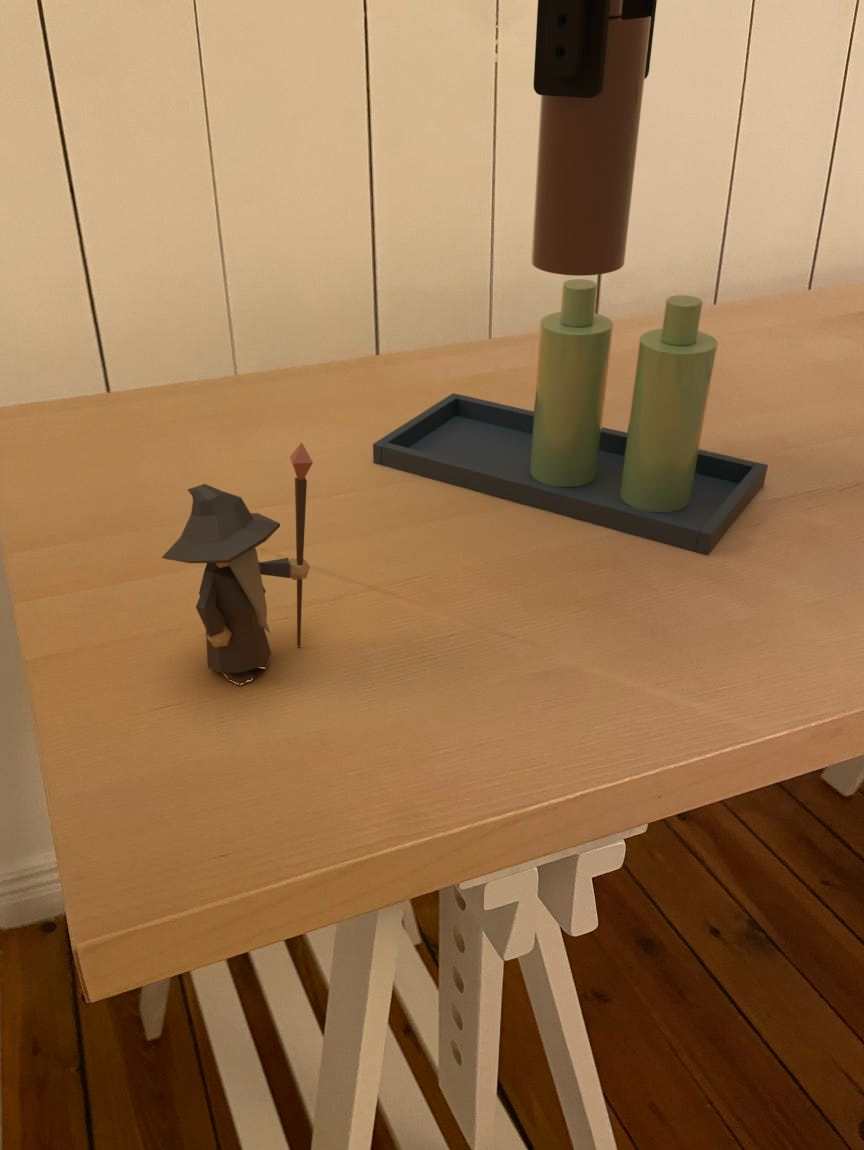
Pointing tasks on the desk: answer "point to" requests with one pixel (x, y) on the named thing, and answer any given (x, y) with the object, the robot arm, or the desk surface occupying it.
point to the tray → (502, 469)
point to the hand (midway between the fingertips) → (592, 82)
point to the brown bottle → (591, 160)
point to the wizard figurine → (239, 572)
